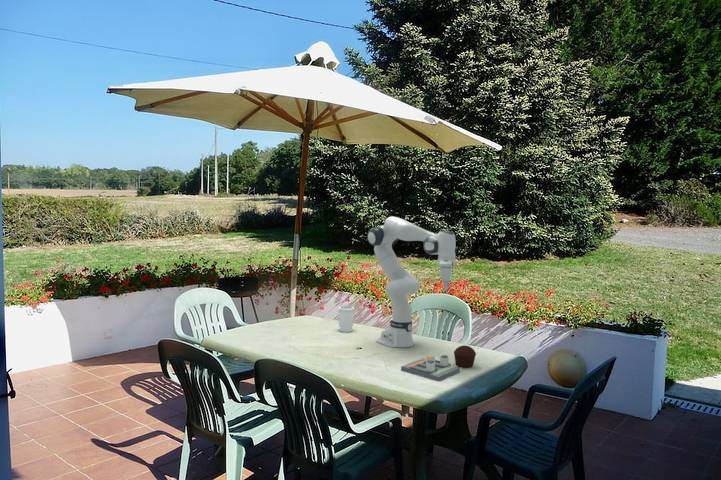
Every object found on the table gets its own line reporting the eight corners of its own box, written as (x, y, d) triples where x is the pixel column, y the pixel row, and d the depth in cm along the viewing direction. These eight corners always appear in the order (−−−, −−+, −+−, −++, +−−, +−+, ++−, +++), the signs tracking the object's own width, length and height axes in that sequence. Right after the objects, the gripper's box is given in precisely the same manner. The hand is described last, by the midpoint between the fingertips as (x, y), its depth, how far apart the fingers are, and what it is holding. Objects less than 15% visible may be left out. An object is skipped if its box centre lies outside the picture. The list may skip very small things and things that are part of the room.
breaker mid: (426, 365, 260) (426, 356, 259) (430, 364, 262) (430, 355, 262) (431, 367, 258) (431, 358, 257) (435, 365, 260) (435, 356, 260)
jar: (336, 329, 340) (336, 306, 339) (351, 328, 344) (351, 305, 342) (340, 333, 330) (340, 309, 329) (356, 332, 333) (356, 308, 332)
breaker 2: (439, 364, 261) (440, 355, 261) (443, 363, 264) (443, 354, 263) (444, 366, 259) (445, 357, 259) (448, 364, 262) (448, 355, 261)
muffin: (460, 360, 278) (460, 342, 277) (479, 365, 271) (480, 346, 270) (449, 366, 268) (449, 346, 268) (468, 370, 261) (469, 351, 261)
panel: (401, 370, 260) (401, 364, 260) (423, 361, 274) (423, 356, 274) (438, 381, 246) (438, 375, 245) (459, 371, 260) (460, 366, 260)
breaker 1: (425, 370, 253) (426, 361, 252) (429, 369, 255) (429, 359, 255) (431, 372, 251) (431, 362, 250) (434, 370, 253) (435, 361, 253)
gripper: (442, 259, 283) (442, 285, 283) (438, 263, 263) (438, 291, 264) (454, 260, 281) (453, 285, 282) (451, 264, 261) (451, 291, 262)
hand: (446, 288), depth 273 cm, fingers open, 8 cm apart
